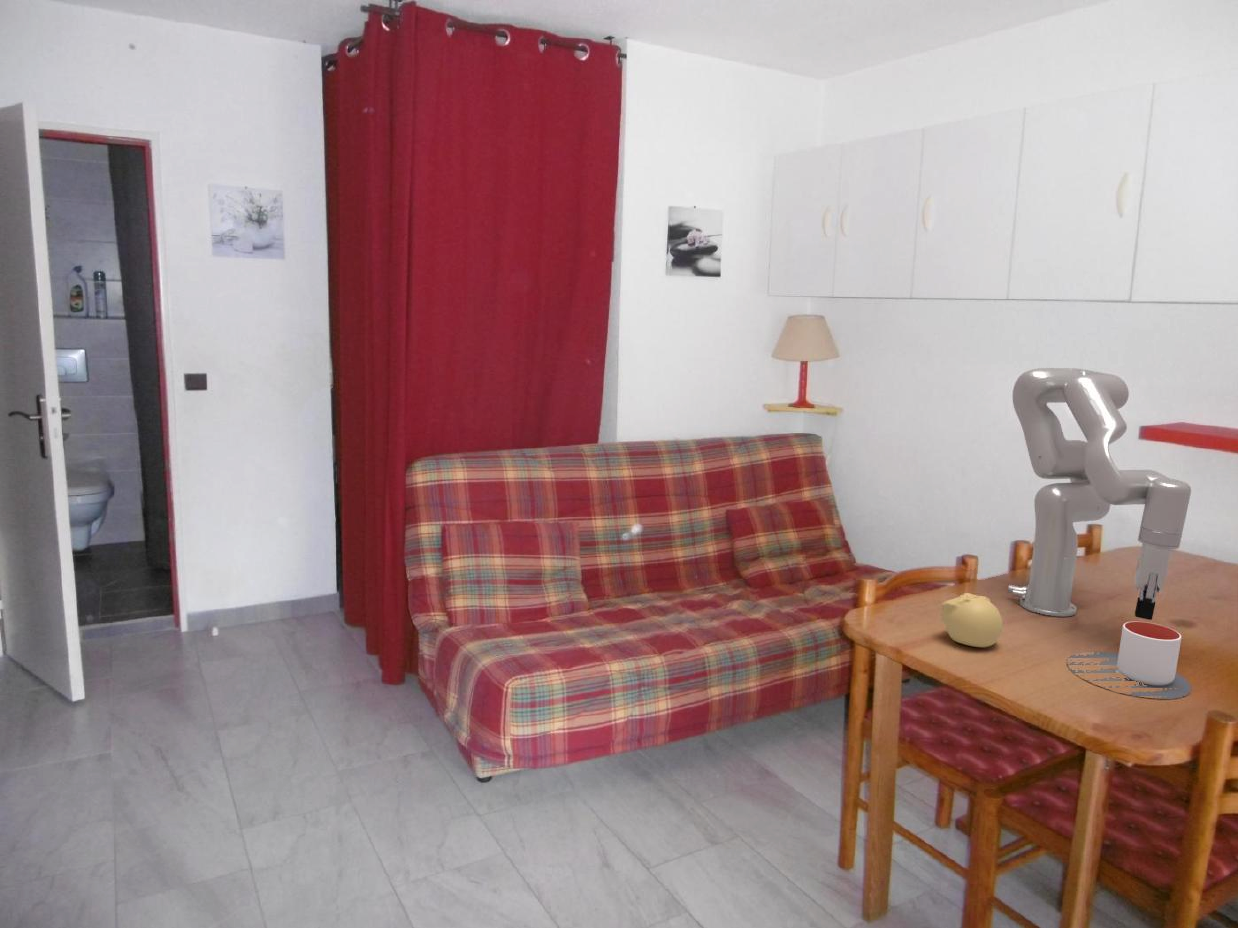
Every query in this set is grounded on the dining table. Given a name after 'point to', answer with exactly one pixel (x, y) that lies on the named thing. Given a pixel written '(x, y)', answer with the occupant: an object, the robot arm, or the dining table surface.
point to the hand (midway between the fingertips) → (1143, 616)
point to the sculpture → (972, 620)
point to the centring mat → (1173, 693)
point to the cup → (1148, 653)
